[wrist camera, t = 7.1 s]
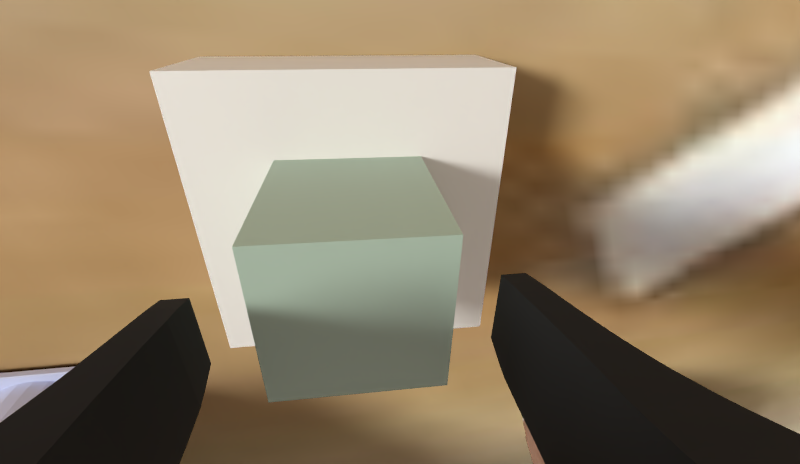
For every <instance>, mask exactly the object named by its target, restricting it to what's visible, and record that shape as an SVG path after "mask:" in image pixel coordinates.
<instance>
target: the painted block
mask: <svg viewBox="0 0 800 464" xmlns="http://www.w3.org/2000/svg"><path fill="white" fill-rule="evenodd" d="M515 74H516V67H514V66H510V65H507V64H504V63H501V62H497V61H494V60H491V59H488V58H484V57H481V56H478V55H372V56H217V57H196V58H193V59H189V60H186V61H182V62H179V63H176V64H172V65H169V66H165V67H162V68H158V69H155V70H152V71H150V75H151V78H152V82H153V85H154V89H155V92H156V95H157V99H158V102H159V106H160V109H161V112H162V116H163V119H164V123H165V126H166V130H167V133H168V136H169V140H170V143H171V147H172V150H173V153H174V157H175V160H176V164H177V167H178V171H179V174H180V177H181V181H182V184H183V188H184V191H185V194H186V198H187V201H188V205H189V208H190V212H191V215H192V218H193V222H194V225H195V229H196V232H197V235H198V239H199V242H200V246H201V249H202V252H203V256H204V259H205V263H206V266H207V270H208V273H209V276H210V280H211V283H212V287H213V290H214V293H215V297H216V300H217V304H218V307H219V311H220V314H221V317H222V321H223V324H224V328H225V331H226V334H227V338H228V341H229V345H230V348H236V347H248V346H255V343H254V338H253V334H252V330H251V326H250V321H249V317H248V313H247V309H246V304H245V300H244V296H243V292H242V287H241V283H240V279H239V275H238V270H237V266H236V262H235V258H234V253H233V249H232V246H233V244H234V242H235V239H236V237H237V235H238V233H239V231H240V229H241V227H242V225H243V223H244V221H245V219H246V217H247V215H248V213H249V210H250V208H251V206H252V204H253V202H254V200H255V198H256V196H257V194H258V192H259V190H260V188H261V186H262V184H263V181H264V179H265V177H266V175H267V173H268V171H269V169H270V167H271V165H272V163H273V161H274V160H304V159H340V158H376V157H413V156H421V157H422V159H423V161H424V163H425V165H426V167H427V168H428V170H429V172H430V174H431V176H432V178H433V180H434V181H435V183H436V185H437V187H438V189H439V191H440V192H441V194H442V196H443V198H444V200H445V202H446V204H447V205H448V207H449V209H450V211H451V213H452V215H453V217H454V218H455V220H456V222H457V224H458V226H459V228H460V229H461V231H462V233H463V243H462V252H461V261H460V271H459V280H458V289H457V298H456V307H455V317H454V326H453V329H454V328H465V327H477V326H480V321H481V314H482V307H483V300H484V293H485V286H486V279H487V272H488V265H489V258H490V251H491V244H492V237H493V229H494V222H495V215H496V208H497V201H498V194H499V187H500V180H501V173H502V166H503V159H504V152H505V145H506V138H507V131H508V124H509V117H510V110H511V103H512V96H513V89H514V81H515Z"/></svg>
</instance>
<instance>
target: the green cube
mask: <svg viewBox="0 0 800 464" xmlns="http://www.w3.org/2000/svg"><path fill="white" fill-rule="evenodd" d="M462 243H463V233H462V231H461V229H460V228H459V226H458V224H457V222H456V220H455V218H454V217H453V215H452V213H451V211H450V209H449V207H448V205H447V204H446V202H445V200H444V198H443V196H442V194H441V192H440V191H439V189H438V187H437V185H436V183H435V181H434V180H433V178H432V176H431V174H430V172H429V170H428V168H427V167H426V165H425V163H424V161H423V159H422V157H421V156H413V157H376V158H340V159H304V160H274V161H273V163H272V165H271V167H270V169H269V171H268V173H267V175H266V177H265V179H264V181H263V184H262V186H261V188H260V190H259V192H258V194H257V196H256V198H255V200H254V202H253V204H252V206H251V208H250V210H249V213H248V215H247V217H246V219H245V221H244V223H243V225H242V227H241V229H240V231H239V233H238V235H237V237H236V239H235V242H234V244H233V246H232V249H233V253H234V258H235V262H236V266H237V270H238V275H239V279H240V283H241V287H242V292H243V296H244V300H245V304H246V309H247V313H248V317H249V321H250V326H251V330H252V334H253V338H254V343H255V347H256V351H257V355H258V360H259V364H260V368H261V372H262V377H263V381H264V385H265V389H266V394H267V398H268V402H278V401H289V400H299V399H309V398H319V397H329V396H340V395H350V394H360V393H370V392H380V391H391V390H401V389H411V388H421V387H432V386H442V385H447V381H448V372H449V363H450V354H451V344H452V335H453V326H454V317H455V307H456V298H457V289H458V280H459V271H460V261H461V252H462Z"/></svg>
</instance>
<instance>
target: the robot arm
mask: <svg viewBox="0 0 800 464" xmlns="http://www.w3.org/2000/svg"><path fill="white" fill-rule="evenodd" d="M491 339H492V342H493V345H494V348H495V351H496V355H497V358H498V361H499V364H500V367H501V370H502V372H503V375H504V378H505V380H506V382H507V384H508V386H509V389H510V391H511V393H512V395H513V397H514V399H515V402H516V404H517V406H518V408H519V410H520V412H521V414H522V416H523V418H524V421H525V423H526V425H527V427H528V429H529V431H530V433H531V435H532V437H533V440H534V442H535V444H536V446H537V448H538V450H539V452H540V454H541V456H542V459H543V461H544V463H545V464H800V434H798V433H796V432H794V431H792V430H790V429H788V428H786V427H783V426H781V425H779V424H777V423H775V422H773V421H771V420H769V419H767V418H765V417H763V416H760V415H758V414H756V413H754V412H752V411H750V410H748V409H746V408H744V407H742V406H740V405H738V404H736V403H734V402H732V401H730V400H728V399H726V398H724V397H722V396H720V395H718V394H716V393H714V392H712V391H711V390H709V389H707V388H705V387H703V386H701V385H700V384H698V383H696V382H694V381H692V380H690V379H689V378H687V377H685V376H683V375H681V374H679V373H678V372H676V371H674V370H672V369H671V368H669V367H667V366H665V365H664V364H662V363H660V362H658V361H657V360H655V359H653V358H652V357H650V356H649V355H647V354H645V353H644V352H642V351H641V350H639V349H637V348H636V347H634V346H632V345H631V344H629V343H628V342H626V341H624V340H623V339H621V338H620V337H618V336H617V335H615V334H614V333H612V332H611V331H609V330H608V329H606V328H605V327H603V326H602V325H600V324H599V323H597V322H596V321H594V320H593V319H591V318H590V317H588V316H587V315H585V314H584V313H583V312H581V311H580V310H578V309H577V308H575V307H574V306H572V305H571V304H570V303H568V302H567V301H565V300H564V299H563V298H561V297H560V296H558V295H557V294H555V293H554V292H553V291H551V290H550V289H548V288H547V287H546V286H544V285H543V284H541V283H540V282H538V281H537V280H535V279H534V278H532V277H531V276H529V275H528V274H526V273H521V274H507V275H501V280H500V286H499V292H498V298H497V305H496V311H495V317H494V323H493V329H492V335H491ZM210 366H211V362H210V359H209V356H208V353H207V350H206V347H205V344H204V341H203V338H202V335H201V332H200V329H199V326H198V323H197V320H196V317H195V314H194V311H193V308H192V305H191V302H190V299H189V298H184V299H171V300H160V301H158V302H157V303H156V304H154V305H153V306H151V307H150V308H149V309H147V310H146V311H145V312H143V313H142V314H141V315H140V316H138V317H137V318H136V319H135V320H133V321H132V322H131V323H129V324H128V325H127V326H126V327H124V328H123V329H122V330H121V331H119V332H118V333H117V334H116V335H114V336H113V337H112V338H111V339H109V340H108V341H107V342H106V343H104V344H103V345H102V346H101V347H99V348H98V349H97V350H96V351H94V352H93V353H92V354H91V355H89V356H88V357H87V358H85V359H84V360H83V361H82V362H80V363H79V364H78V365H77V366H75V367H63V368H52V369H41V370H29V371H18V372H7V373H0V464H179V463H180V461H181V458H182V456H183V453H184V450H185V448H186V445H187V443H188V440H189V437H190V434H191V432H192V429H193V426H194V424H195V421H196V418H197V416H198V413H199V410H200V407H201V404H202V400H203V396H204V392H205V388H206V384H207V379H208V375H209V370H210Z"/></svg>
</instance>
